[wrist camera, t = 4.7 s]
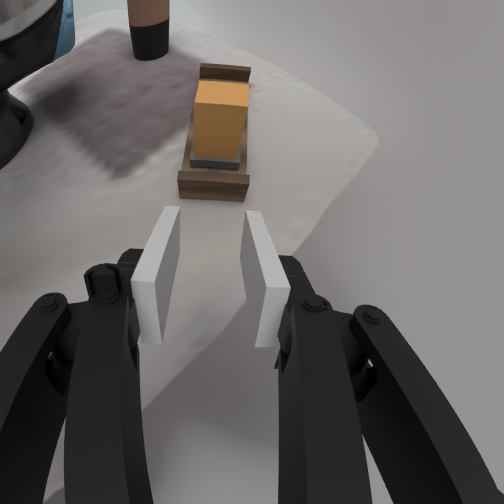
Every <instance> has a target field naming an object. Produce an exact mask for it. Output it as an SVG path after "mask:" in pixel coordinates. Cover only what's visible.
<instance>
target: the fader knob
mask: <svg viewBox="0 0 504 504" xmlns="http://www.w3.org/2000/svg"><path fill="white" fill-rule="evenodd" d="M248 94H249V84H240V83H230V82H218V81H200V80H199V84H198V89H197V93H196V98H195V102H194V136H193V142H192V148H191V154H190V166H192V167H210V168H225V169H238V170H239V166H240V157H241V136H242V131H243V127H244V123H245V118H246V114H247V110H248Z"/></svg>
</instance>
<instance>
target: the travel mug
mask: <svg viewBox="0 0 504 504" xmlns="http://www.w3.org/2000/svg"><path fill="white" fill-rule="evenodd" d="M127 3H128V17H129V27H130V33H131V39H132V45H133V51H134V56H135V58H136V59H138V60H142V61H148V60H154V59H157V58H160V57H162V56H164V55H165V54H166V53H167V52H168V46H169V0H127Z"/></svg>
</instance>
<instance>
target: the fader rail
mask: <svg viewBox="0 0 504 504" xmlns="http://www.w3.org/2000/svg"><path fill="white" fill-rule="evenodd" d="M250 72H251V67H243V66H234V65H222V64H206V63H201V66H200V79H199V80H200V81H218V82H230V83H240V84H248V81H249V76H250ZM198 84H199V83H198ZM197 89H198V87H197ZM196 93H197V91H196ZM195 98H196V96H195ZM194 102H195V101H194ZM247 112H248V110H247ZM193 136H194V105H193V110H192V115H191V120H190V125H189V130H188V136H187V141H186V147H185V153H184V159H183V165H182V171H179V172H178V178H177V181H178V188H179V195H180V198H187V199H206V200H223V201H237V202H244V199H245V196H246V193H247V190H248V187H249V175H246V164H247V114H246V118H245V123H244V127H243V131H242V136H241V157H240V166H239V170H238V169H225V168H210V167H192V166H190V154H191V148H192V142H193Z"/></svg>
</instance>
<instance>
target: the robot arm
mask: <svg viewBox="0 0 504 504" xmlns="http://www.w3.org/2000/svg"><path fill="white" fill-rule="evenodd" d="M74 45H75V26H74V16H73V0H0V169H1V168H2V167H3V166H4V165H6V164H7V163H8V162H9V161H10V160H11V159H12V158H13V157H14V155H15V154H16V153H17V152H18V151H19V149H20V148H21V147H22V145H23V144H24V142H25V140H26V139H27V137H28V135H29V133H30V131H31V128H32V125H33V115H32V113H31V111H30V110H29V108H28V107H27V106H26V105H25V104H24V103H22V102H21V101H20V100H18V99H17V98H15V97H14V96H12V95H11V94H10V93H9V92H8V90H7V89H8V88H10V87H11V86H12V85H14V84H15V83H17V82H19V81H20V80H22V79H23V78H25V77H27V76H28V75H30V74H32V73H33V72H35V71H37V70H39V69H40V68H42V67H44V66H46V65H48V64H50V63H52V62H54V61H55V60H56V59H58V58H60V57H61V56H63V55H65V54H67V53H68V52H70V51H71V50H72V48H73V47H74ZM179 254H180V206H165V208H164V210H163V212H162V214H161V216H160V218H159V220H158V222H157V224H156V226H155V228H154V230H153V232H152V234H151V236H150V238H149V240H148V242H147V244H146V247H145V249H131V248H130V249H128V250H127V251H126V252H124V253H123V254H122V255H121V257H120V259H119V260H118V263H117V264H111V263H105V264H99V265H96V266H93V267H91V268H90V269H89V270H87V271H86V273H85V274H84V279H85V283H86V287H87V291H88V295H89V299H88V301H85V302H79V303H71V304H68V302H67V299H66V297H65V296H64V295H63V294H60V293H48V294H45V295H43V296H41V297H40V298H39V299H38V300H37V301H36V302H35V303H34V304H33V305H32V307H31V308H30V310H29V311H28V312H27V314H26V315H25V316H24V318H23V319H22V321H21V322H20V323H19V325H18V326H17V328H16V329H15V331H14V332H13V334H12V335H11V337H10V338H9V340H8V341H7V343H6V344H5V346H4V347H3V349H2V351H1V352H0V504H43V498H44V493H45V488H46V484H47V479H48V475H49V471H50V467H51V463H52V459H53V456H54V452H55V449H56V445H57V442H58V439H59V436H60V433H61V429H62V426H63V423H64V420H65V418H66V423H65V439H64V485H65V500H66V504H153V498H152V493H151V488H150V482H149V476H148V471H147V463H146V455H145V447H144V438H143V428H142V415H141V399H140V371H139V348H138V344H137V342H138V338H139V334H140V336H141V341H142V342H144V343H155V344H162V341H163V335H164V329H165V323H166V318H167V312H168V307H169V302H170V296H171V291H172V286H173V282H174V277H175V272H176V267H177V263H178V258H179ZM240 260H241V266H242V273H243V279H244V285H245V291H246V297H247V303H248V309H249V315H250V321H251V327H252V333H253V339H254V344H255V347H275V346H276V342H277V338H279V342H280V346H281V347H280V350H279V353H278V357H277V360H276V364H275V368H274V369H277V368H278V386H279V483H278V504H372V497H371V488H370V481H369V474H368V467H367V461H366V455H365V449H364V443H363V437H364V438H365V441H366V443H367V445H368V447H369V450H370V452H371V454H372V456H373V458H374V461H375V463H376V465H377V467H378V470H379V472H380V474H381V476H382V479H383V481H384V483H385V485H386V488H387V490H388V492H389V495H390V497H391V499H392V501H393V503H394V504H504V494H503V493H501V492H500V491H499V490H498V489H497V487H496V484H495V482H494V480H493V478H492V476H491V474H490V472H489V470H488V468H487V467H486V465H485V463H484V461H483V459H482V457H481V455H480V453H479V452H478V450H477V448H476V446H475V445H474V443H473V441H472V439H471V437H470V436H469V434H468V432H467V431H466V429H465V428H464V426H463V424H462V423H461V421H460V419H459V417H458V416H457V414H456V413H455V411H454V409H453V408H452V407H451V405H450V403H449V402H448V400H447V398H446V397H445V396H444V394H443V392H442V391H441V389H440V388H439V386H438V385H437V383H436V382H435V380H434V379H433V377H432V376H431V375H430V373H429V372H428V370H427V369H426V367H425V366H424V365H423V363H422V362H421V361H420V359H419V357H418V356H417V355H416V353H415V352H414V351H413V349H412V348H411V346H410V345H409V344H408V342H407V341H406V340H405V338H404V337H403V336H402V335H401V333H400V332H399V330H398V329H397V328H396V327H395V325H394V324H393V322H392V321H391V320H390V319H389V317H388V316H387V315H386V314H385V313H384V312H383V311H382V310H381V309H378V308H377V307H375V306H372V305H360V306H358V307H357V308H356V309H355V311H354V313H353V314H348V313H343V312H338V311H334V310H333V309H332V306H331V305H330V303H329V302H328V301H327V300H326V299H325V298H323V297H321V296H319V295H316V294H315V292H314V290H313V288H312V286H311V284H310V282H309V280H308V278H307V277H306V274H305V272H304V271H303V268H302V266H301V264H300V262H299V261H297V260H296V259H295V258H294V257H293V256H283V255H278V254H277V252H276V249H275V247H274V244H273V242H272V239H271V237H270V234H269V232H268V229H267V227H266V225H265V222H264V220H263V217H262V215H261V212H260V211H249V210H245V218H244V227H243V235H242V243H241V252H240ZM51 352H52V353H51ZM50 353H51V355H50ZM49 355H50V356H49ZM369 359H370V361H371V362H372V364H373V367H371V366H370V365H369V363H368V361H369ZM362 434H363V437H362Z"/></svg>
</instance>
